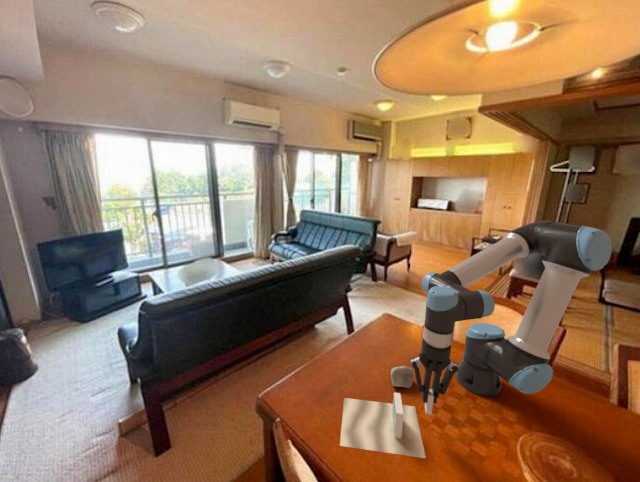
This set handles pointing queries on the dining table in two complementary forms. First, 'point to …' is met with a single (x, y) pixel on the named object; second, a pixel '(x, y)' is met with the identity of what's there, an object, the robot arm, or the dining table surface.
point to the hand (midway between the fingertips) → (427, 410)
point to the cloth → (380, 428)
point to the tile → (397, 415)
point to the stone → (402, 376)
